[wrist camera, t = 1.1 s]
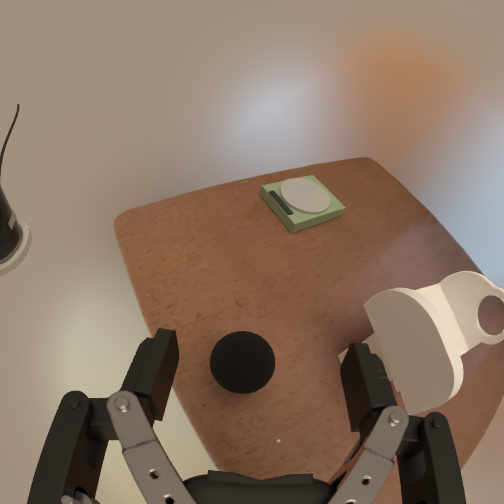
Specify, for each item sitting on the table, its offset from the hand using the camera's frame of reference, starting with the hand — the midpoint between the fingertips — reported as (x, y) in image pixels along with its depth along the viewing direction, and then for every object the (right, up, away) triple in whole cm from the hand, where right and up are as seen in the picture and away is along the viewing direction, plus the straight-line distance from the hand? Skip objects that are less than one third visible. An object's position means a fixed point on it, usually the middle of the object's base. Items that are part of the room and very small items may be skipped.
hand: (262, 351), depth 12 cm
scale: (+9, +13, +38) cm, 41 cm away
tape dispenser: (+18, -11, +20) cm, 29 cm away
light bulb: (-2, -10, +17) cm, 20 cm away
